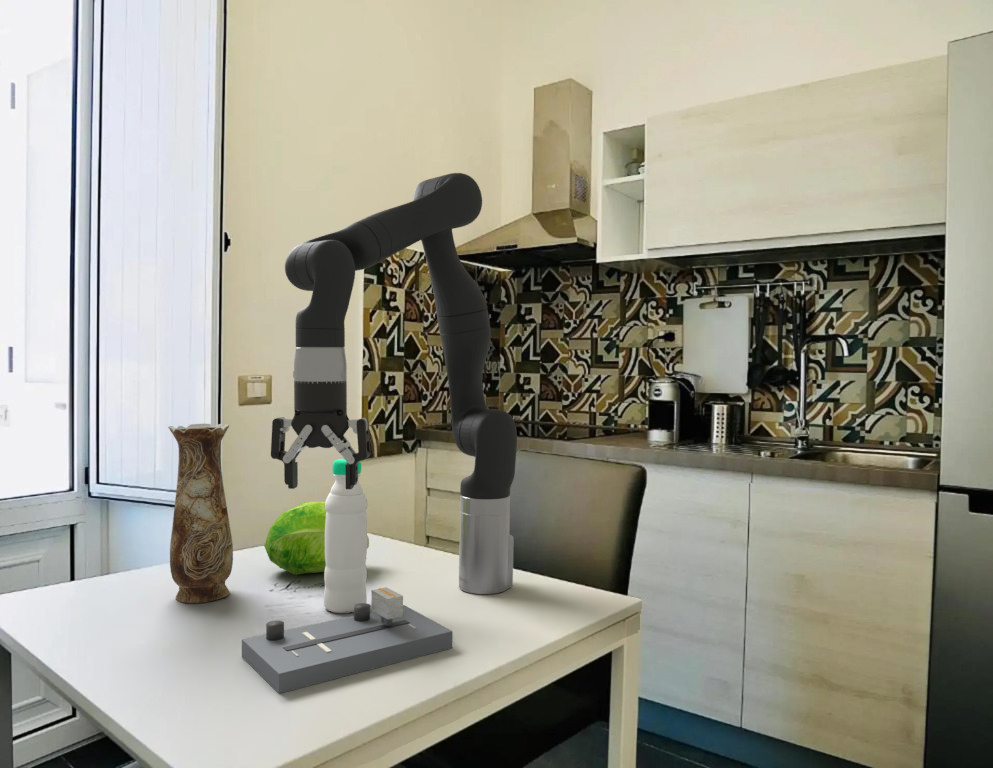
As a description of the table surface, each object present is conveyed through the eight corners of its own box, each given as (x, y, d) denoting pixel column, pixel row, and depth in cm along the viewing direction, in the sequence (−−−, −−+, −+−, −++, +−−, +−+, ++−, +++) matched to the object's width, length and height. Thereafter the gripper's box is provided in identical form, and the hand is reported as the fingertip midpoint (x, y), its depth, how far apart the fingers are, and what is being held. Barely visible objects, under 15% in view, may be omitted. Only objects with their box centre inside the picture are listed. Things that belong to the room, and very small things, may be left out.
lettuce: (373, 578, 142) (374, 508, 141) (263, 586, 136) (264, 512, 136) (363, 558, 156) (364, 494, 156) (264, 564, 151) (264, 497, 150)
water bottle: (356, 616, 121) (358, 463, 120) (316, 612, 122) (318, 461, 121) (372, 602, 128) (374, 458, 127) (334, 599, 129) (336, 456, 128)
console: (403, 620, 119) (404, 592, 119) (452, 647, 108) (452, 617, 108) (241, 656, 103) (241, 624, 103) (278, 693, 92) (279, 657, 92)
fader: (386, 617, 112) (386, 586, 112) (402, 627, 108) (403, 595, 108) (371, 620, 110) (371, 589, 110) (387, 630, 106) (387, 598, 106)
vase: (206, 608, 123) (207, 428, 123) (154, 601, 126) (154, 426, 126) (245, 590, 133) (246, 424, 132) (195, 583, 136) (196, 421, 136)
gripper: (374, 378, 112) (374, 484, 113) (281, 377, 113) (282, 483, 113) (362, 379, 104) (362, 493, 105) (263, 379, 105) (264, 492, 106)
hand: (321, 488), depth 109 cm, fingers open, 8 cm apart
